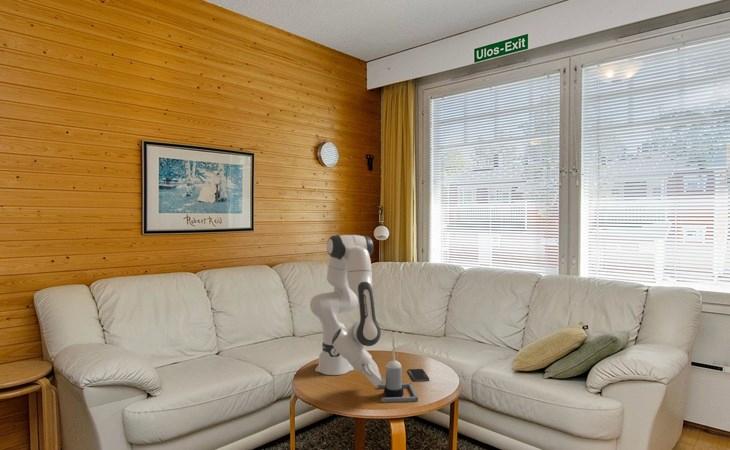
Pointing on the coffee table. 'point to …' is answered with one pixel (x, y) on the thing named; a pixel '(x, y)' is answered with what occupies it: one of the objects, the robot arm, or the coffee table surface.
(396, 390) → the humidifier
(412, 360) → the coffee table surface
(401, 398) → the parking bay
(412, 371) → the phone
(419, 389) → the coffee table surface
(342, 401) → the coffee table surface
